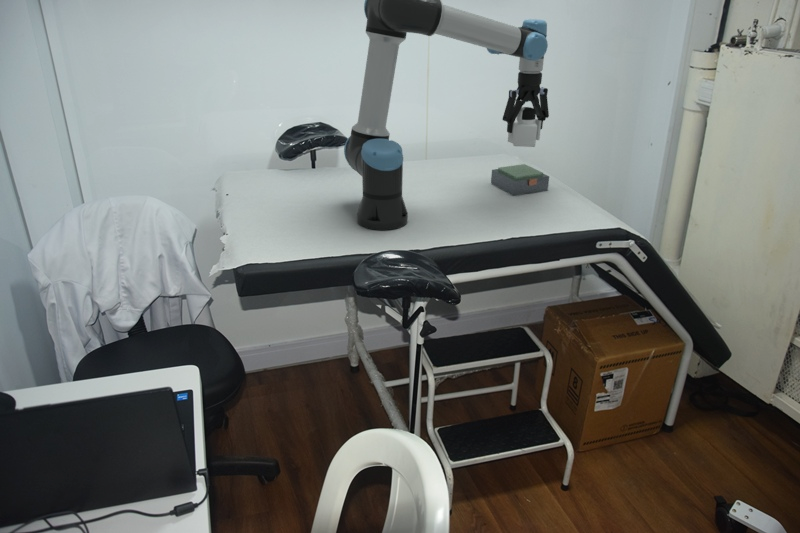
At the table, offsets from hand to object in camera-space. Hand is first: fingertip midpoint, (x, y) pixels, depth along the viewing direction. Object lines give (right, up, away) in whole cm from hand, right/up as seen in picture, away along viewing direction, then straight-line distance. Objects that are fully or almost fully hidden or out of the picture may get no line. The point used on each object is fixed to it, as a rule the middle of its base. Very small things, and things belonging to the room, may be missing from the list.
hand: (523, 140), depth 206 cm
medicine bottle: (0, -1, +1) cm, 1 cm away
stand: (0, -15, +7) cm, 16 cm away
